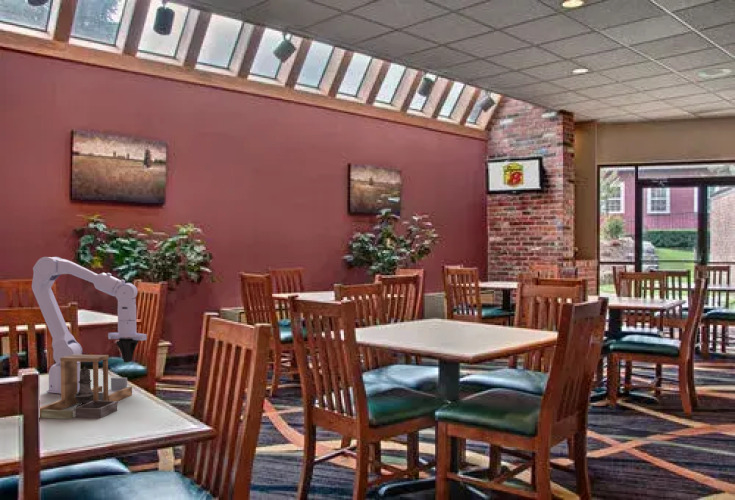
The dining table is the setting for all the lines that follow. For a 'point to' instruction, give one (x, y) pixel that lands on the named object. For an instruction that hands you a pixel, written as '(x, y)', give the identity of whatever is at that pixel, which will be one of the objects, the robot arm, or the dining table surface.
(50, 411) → the brown wooden frame
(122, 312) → the robot arm
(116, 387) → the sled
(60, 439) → the dining table surface
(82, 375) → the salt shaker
